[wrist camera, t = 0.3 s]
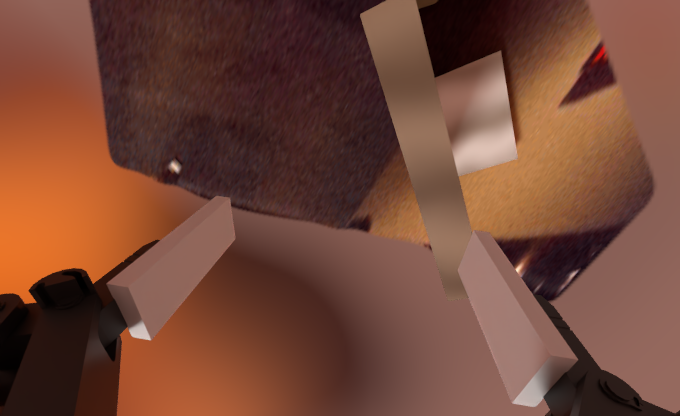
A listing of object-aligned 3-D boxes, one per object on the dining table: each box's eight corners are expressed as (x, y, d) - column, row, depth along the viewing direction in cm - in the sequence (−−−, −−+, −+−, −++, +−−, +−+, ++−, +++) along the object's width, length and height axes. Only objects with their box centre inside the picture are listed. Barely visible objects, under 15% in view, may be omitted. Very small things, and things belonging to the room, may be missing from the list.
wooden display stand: (376, 64, 34) (359, 14, 13) (485, 14, 30) (724, -180, 9) (415, 191, 39) (448, 301, 19) (510, 163, 36) (688, 260, 15)
